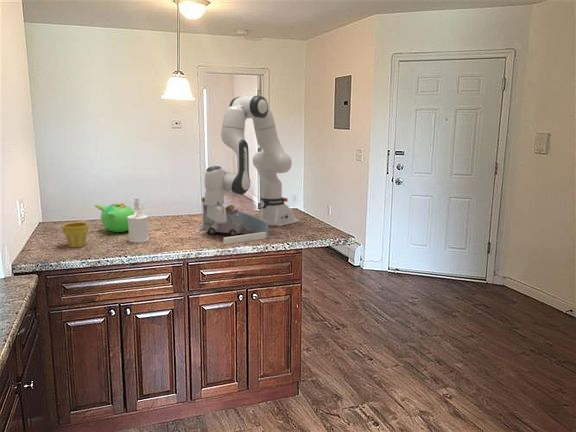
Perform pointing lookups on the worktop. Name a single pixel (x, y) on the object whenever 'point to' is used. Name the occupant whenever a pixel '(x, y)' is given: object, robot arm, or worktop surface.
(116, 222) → the green round vessel
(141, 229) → the white soap dispenser
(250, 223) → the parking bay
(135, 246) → the worktop surface
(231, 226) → the toy vehicle
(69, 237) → the plant pot
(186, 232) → the worktop surface
